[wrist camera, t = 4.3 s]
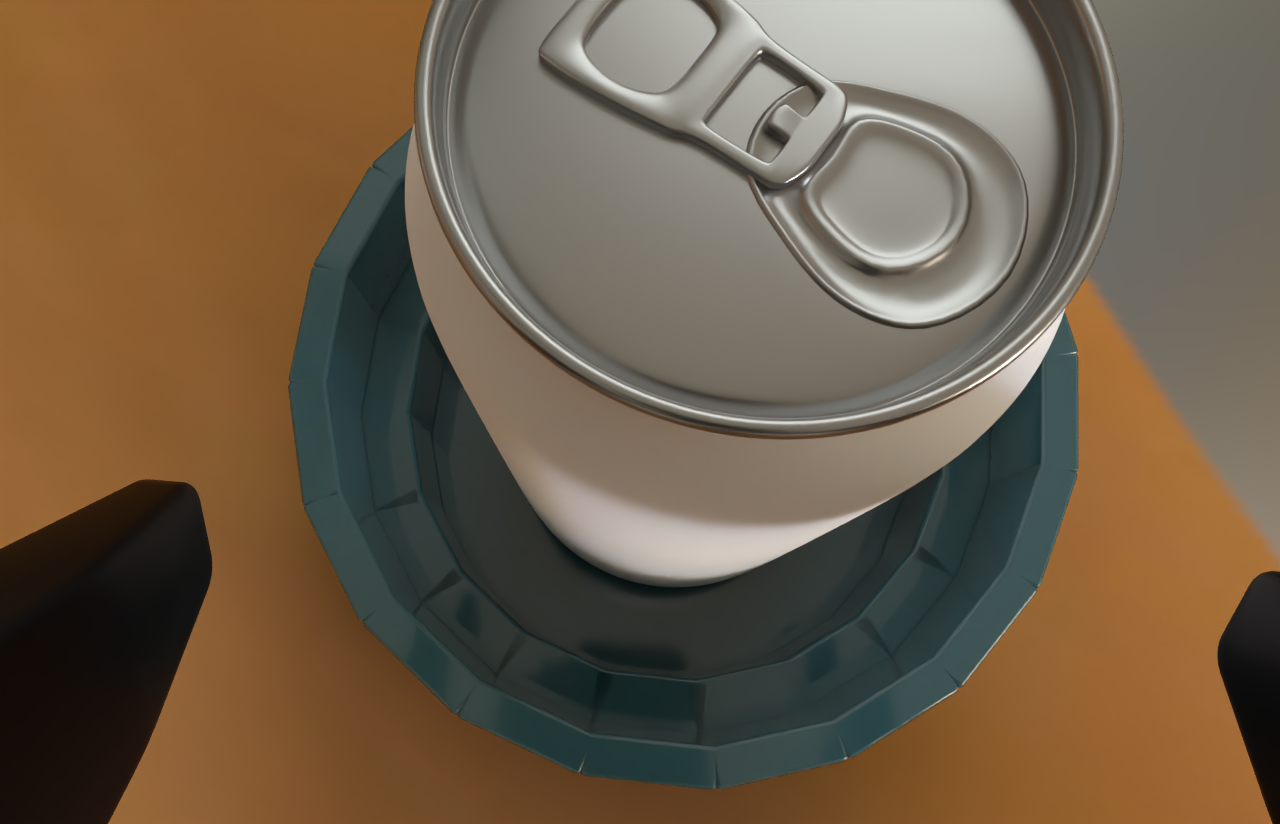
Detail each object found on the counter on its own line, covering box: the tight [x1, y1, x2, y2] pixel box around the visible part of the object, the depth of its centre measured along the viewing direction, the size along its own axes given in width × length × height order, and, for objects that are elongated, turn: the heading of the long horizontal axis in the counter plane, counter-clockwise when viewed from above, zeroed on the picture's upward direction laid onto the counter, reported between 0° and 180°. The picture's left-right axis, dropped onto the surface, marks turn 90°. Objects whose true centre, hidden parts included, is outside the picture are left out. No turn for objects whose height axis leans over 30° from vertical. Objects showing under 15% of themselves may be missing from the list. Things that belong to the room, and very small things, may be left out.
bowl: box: [288, 127, 1078, 790], centre depth 17 cm, size 12×12×5 cm
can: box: [405, 0, 1124, 587], centre depth 13 cm, size 6×6×12 cm
